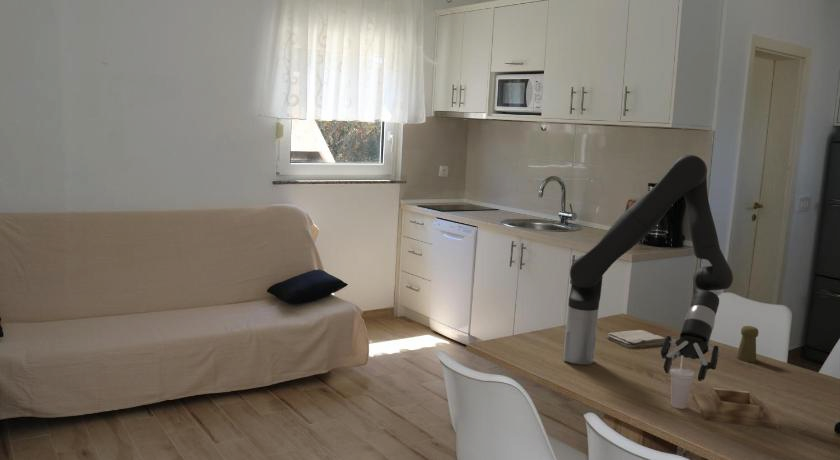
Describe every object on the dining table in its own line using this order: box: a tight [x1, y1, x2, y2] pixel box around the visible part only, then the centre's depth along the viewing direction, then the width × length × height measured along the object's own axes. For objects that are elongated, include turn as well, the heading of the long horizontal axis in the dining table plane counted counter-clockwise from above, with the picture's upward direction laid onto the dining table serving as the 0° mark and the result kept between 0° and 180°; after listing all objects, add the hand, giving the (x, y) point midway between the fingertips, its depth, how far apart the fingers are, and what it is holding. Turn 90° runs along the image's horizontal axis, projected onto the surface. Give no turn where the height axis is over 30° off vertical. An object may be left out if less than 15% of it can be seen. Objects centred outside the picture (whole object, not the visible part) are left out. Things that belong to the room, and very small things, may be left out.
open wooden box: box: [691, 387, 781, 430], centre depth 192 cm, size 18×16×4 cm
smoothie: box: [669, 355, 696, 410], centre depth 193 cm, size 6×6×14 cm
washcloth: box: [606, 329, 666, 349], centre depth 251 cm, size 12×18×3 cm, turn 118°
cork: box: [735, 325, 759, 363], centre depth 237 cm, size 6×6×11 cm
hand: (682, 375), depth 193 cm, fingers open, 8 cm apart
